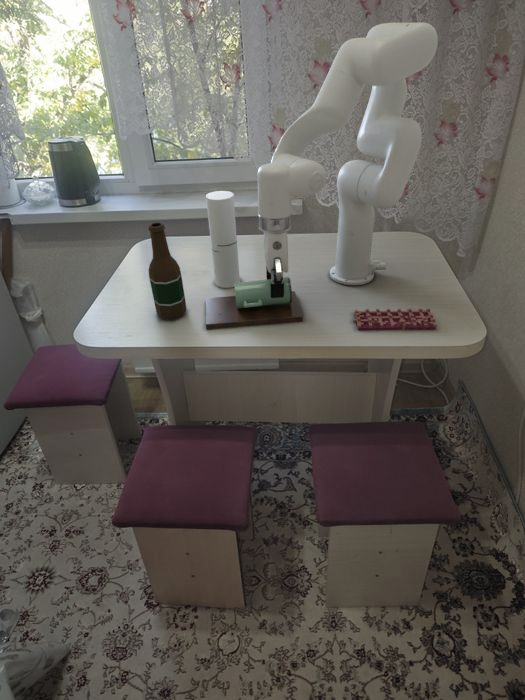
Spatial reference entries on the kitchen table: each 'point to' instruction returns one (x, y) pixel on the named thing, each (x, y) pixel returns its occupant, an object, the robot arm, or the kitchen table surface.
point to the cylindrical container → (223, 237)
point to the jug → (260, 293)
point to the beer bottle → (165, 277)
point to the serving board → (249, 313)
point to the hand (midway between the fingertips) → (274, 287)
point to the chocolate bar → (395, 319)
